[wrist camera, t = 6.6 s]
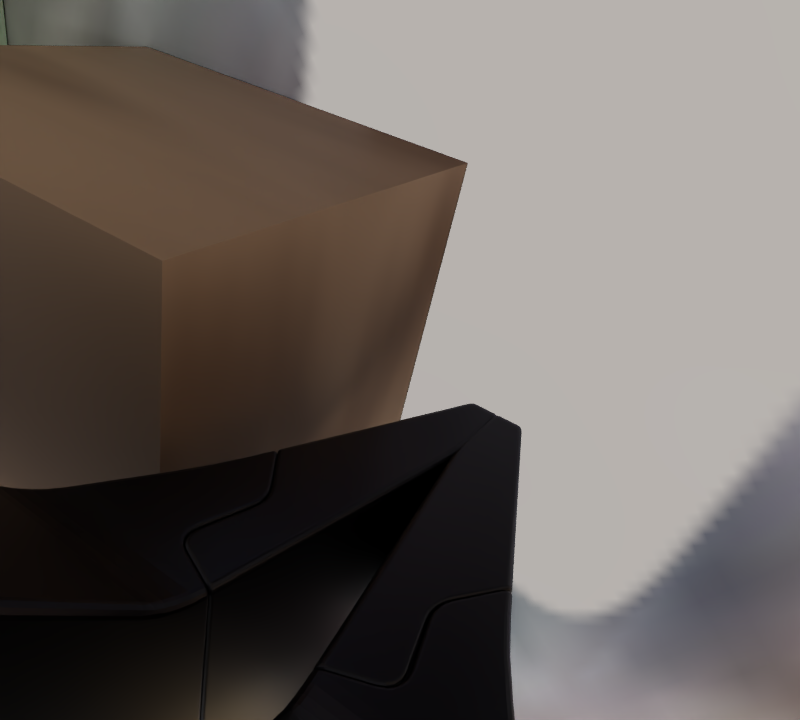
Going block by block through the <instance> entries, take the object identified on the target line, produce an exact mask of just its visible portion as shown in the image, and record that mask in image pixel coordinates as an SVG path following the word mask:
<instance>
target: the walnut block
mask: <svg viewBox="0 0 800 720" xmlns="http://www.w3.org/2000/svg"><path fill="white" fill-rule="evenodd" d="M466 168H467V163H466V162H463V161H460V160H458V159H455V158H452V157H449V156H446V155H444V154H441V153H438V152H436V151H433V150H430V149H427V148H425V147H421V146H419V145H416V144H413V143H411V142H408V141H405V140H402V139H400V138H397V137H394V136H392V135H389V134H386V133H383V132H380V131H378V130H375V129H372V128H369V127H367V126H363V125H361V124H358V123H356V122H353V121H350V120H347V119H345V118H342V117H339V116H336V115H334V114H331V113H328V112H325V111H323V110H319V109H317V108H314V107H312V106H309V105H306V104H303V103H301V102H298V101H295V100H292V99H289V98H287V97H284V96H281V95H278V94H276V93H273V92H270V91H267V90H265V89H262V88H259V87H256V86H254V85H251V84H248V83H245V82H243V81H240V80H237V79H234V78H232V77H229V76H226V75H223V74H221V73H218V72H215V71H212V70H210V69H207V68H204V67H201V66H198V65H196V64H193V63H190V62H187V61H185V60H182V59H179V58H176V57H174V56H171V55H168V54H165V53H163V52H160V51H157V50H154V49H152V48H149V47H124V46H33V45H0V486H4V487H10V488H20V489H52V488H61V487H69V486H76V485H83V484H90V483H97V482H103V481H110V480H117V479H124V478H130V477H137V476H144V475H151V474H157V473H164V472H171V471H177V470H183V469H189V468H195V467H200V466H206V465H212V464H217V463H222V462H226V461H231V460H236V459H240V458H245V457H250V456H254V455H258V454H262V453H266V452H270V451H276V452H277V453H278V451H279V450H280V449H284V448H288V447H292V446H296V445H300V444H304V443H309V442H313V441H317V440H321V439H325V438H329V437H334V436H338V435H342V434H346V433H350V432H354V431H359V430H363V429H367V428H371V427H375V426H379V425H383V424H388V423H392V422H396V421H400V419H401V415H402V411H403V407H404V403H405V399H406V396H407V392H408V388H409V384H410V381H411V377H412V373H413V369H414V365H415V361H416V357H417V354H418V350H419V346H420V342H421V339H422V335H423V331H424V327H425V324H426V320H427V316H428V312H429V308H430V304H431V301H432V297H433V293H434V289H435V285H436V282H437V278H438V274H439V270H440V267H441V263H442V259H443V255H444V251H445V248H446V244H447V240H448V236H449V232H450V229H451V225H452V221H453V217H454V213H455V210H456V206H457V202H458V198H459V194H460V190H461V187H462V183H463V179H464V175H465V171H466Z"/></svg>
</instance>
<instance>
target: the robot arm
mask: <svg viewBox="0 0 800 720" xmlns="http://www.w3.org/2000/svg"><path fill="white" fill-rule="evenodd" d="M520 447H521V428H520V427H519V426H518V425H516V424H514V423H512V422H510V421H508V420H505V419H503V418H502V417H500V416H496V415H495V414H494V413H491V412H489V411H488V410H486V409H484V408H482V407H480V406H478V405H475V404H467V405H462V406H458V407H454V408H450V409H446V410H442V411H438V412H434V413H429V414H425V415H421V416H417V417H413V418H408V419H404V420H400V421H396V422H392V423H388V424H383V425H379V426H375V427H371V428H367V429H363V430H359V431H354V432H350V433H346V434H342V435H338V436H334V437H329V438H325V439H321V440H317V441H313V442H309V443H304V444H300V445H296V446H292V447H288V448H284V449H280V450H279V451H278V453H277V452H276V451H270V452H266V453H262V454H258V455H254V456H250V457H245V458H240V459H236V460H231V461H226V462H222V463H217V464H212V465H206V466H200V467H195V468H189V469H183V470H177V471H171V472H164V473H157V474H151V475H144V476H137V477H130V478H124V479H117V480H110V481H103V482H97V483H90V484H83V485H76V486H69V487H61V488H52V489H20V488H10V487H4V486H0V720H515V717H514V707H513V695H512V679H511V662H510V633H511V605H512V594H511V592H512V582H513V564H514V547H515V531H516V515H517V497H518V479H519V463H520Z"/></svg>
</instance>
